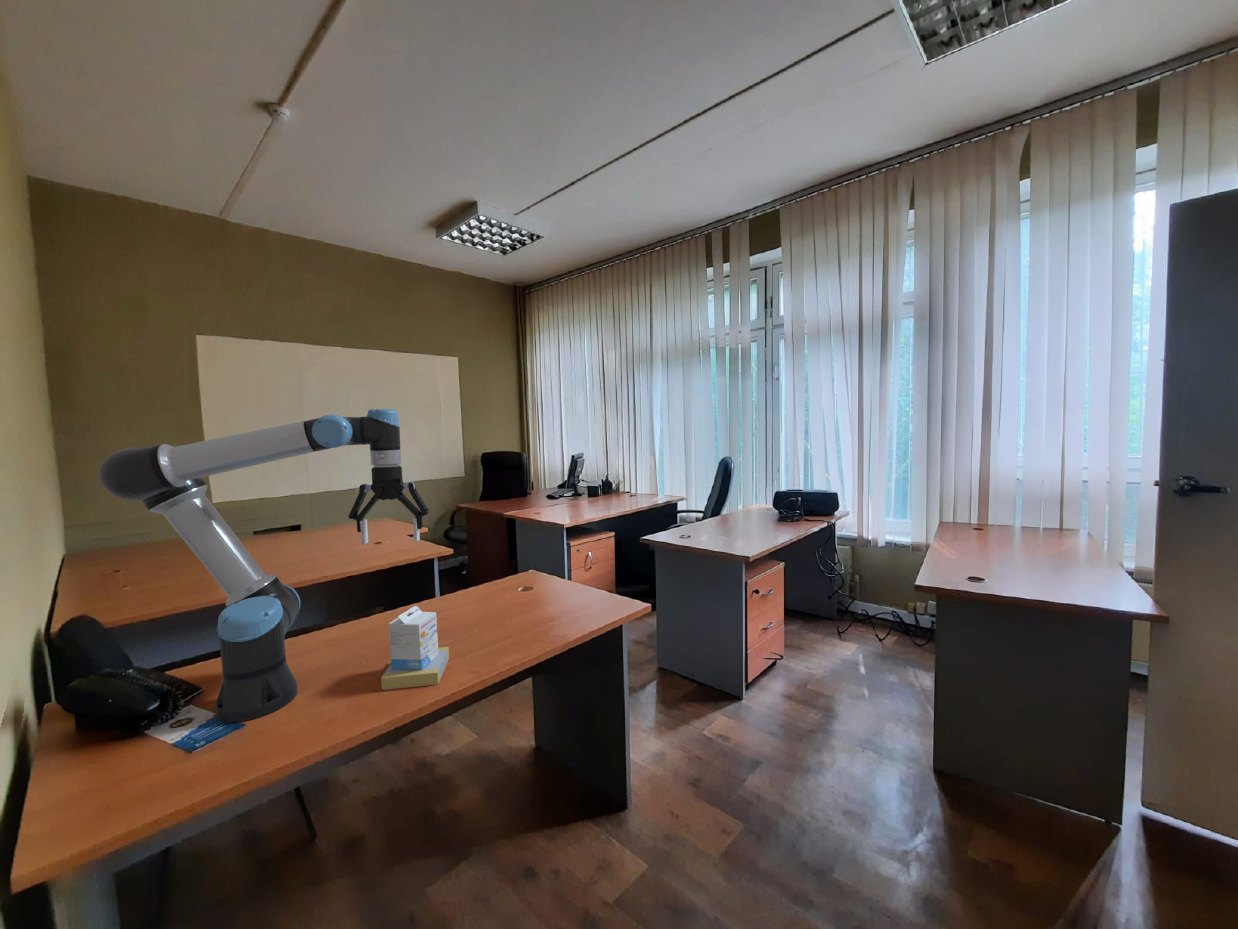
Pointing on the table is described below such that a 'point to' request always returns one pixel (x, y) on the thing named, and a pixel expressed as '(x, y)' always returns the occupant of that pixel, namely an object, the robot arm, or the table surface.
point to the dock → (416, 673)
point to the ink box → (413, 639)
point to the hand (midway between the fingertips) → (391, 542)
